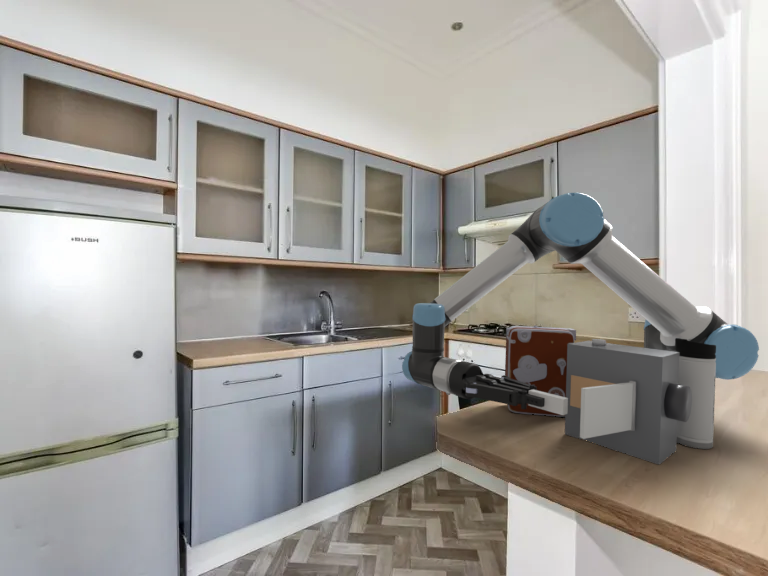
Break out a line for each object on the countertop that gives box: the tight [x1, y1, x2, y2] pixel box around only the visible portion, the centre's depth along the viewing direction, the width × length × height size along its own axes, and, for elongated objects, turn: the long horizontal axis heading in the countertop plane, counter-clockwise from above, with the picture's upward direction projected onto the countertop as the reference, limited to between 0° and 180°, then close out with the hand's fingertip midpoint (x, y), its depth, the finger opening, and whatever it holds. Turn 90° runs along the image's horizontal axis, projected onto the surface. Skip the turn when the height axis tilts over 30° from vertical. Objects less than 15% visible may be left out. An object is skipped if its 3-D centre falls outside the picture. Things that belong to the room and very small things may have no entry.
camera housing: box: [564, 338, 692, 465], centre depth 73 cm, size 18×9×19 cm, turn 38°
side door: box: [580, 381, 636, 439], centre depth 65 cm, size 12×1×8 cm, turn 113°
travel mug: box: [675, 338, 716, 450], centre depth 75 cm, size 6×7×20 cm
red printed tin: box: [504, 325, 577, 418], centre depth 91 cm, size 9×19×20 cm, turn 78°
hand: (565, 406), depth 66 cm, fingers closed
